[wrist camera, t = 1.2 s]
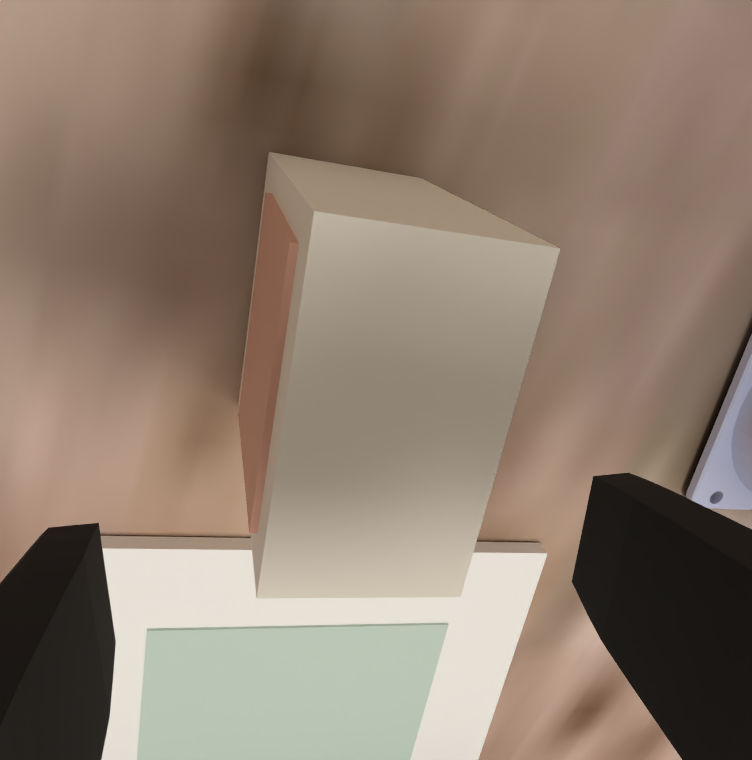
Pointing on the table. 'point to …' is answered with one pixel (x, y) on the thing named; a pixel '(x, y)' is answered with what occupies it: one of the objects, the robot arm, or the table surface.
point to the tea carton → (379, 378)
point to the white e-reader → (303, 658)
